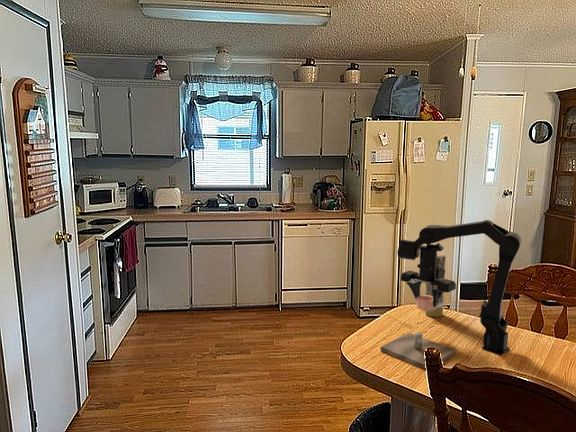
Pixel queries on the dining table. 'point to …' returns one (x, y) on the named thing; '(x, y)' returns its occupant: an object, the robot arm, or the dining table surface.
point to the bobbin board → (415, 349)
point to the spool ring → (425, 303)
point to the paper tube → (430, 288)
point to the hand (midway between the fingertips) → (426, 304)
